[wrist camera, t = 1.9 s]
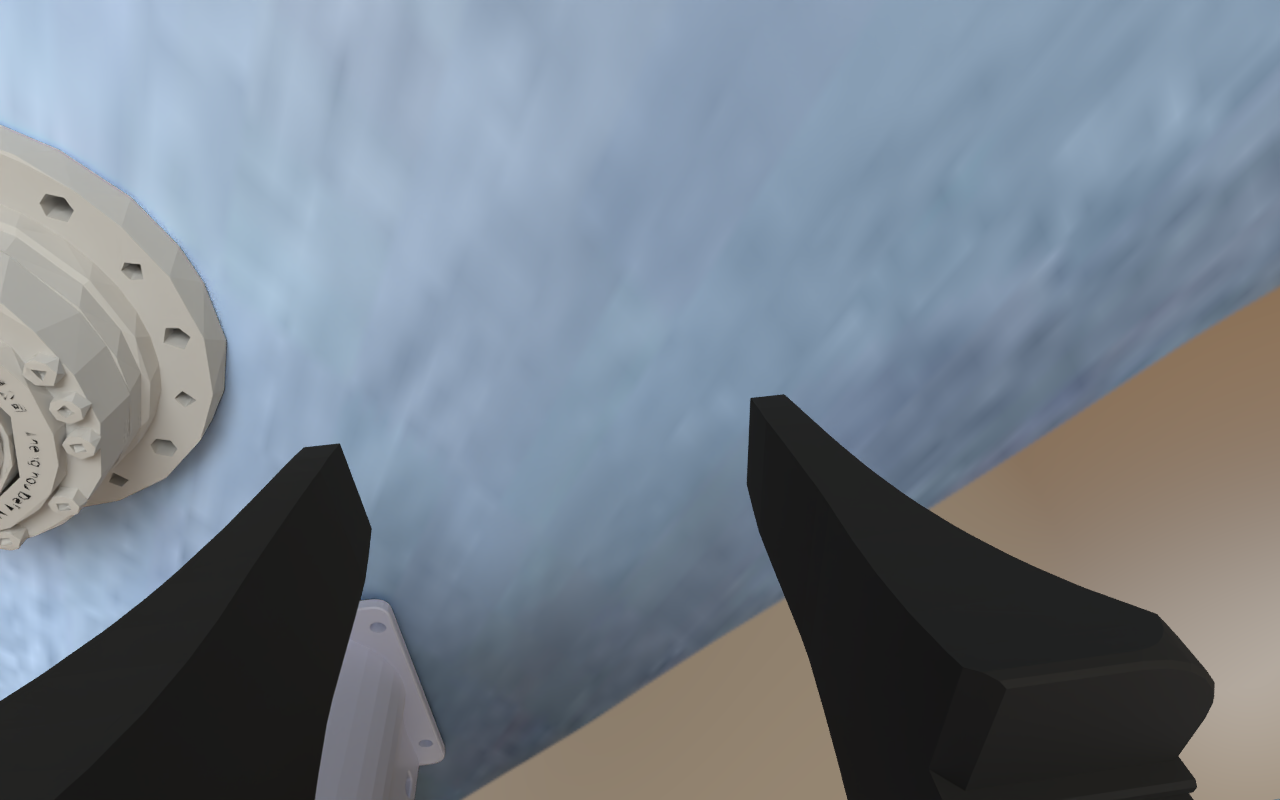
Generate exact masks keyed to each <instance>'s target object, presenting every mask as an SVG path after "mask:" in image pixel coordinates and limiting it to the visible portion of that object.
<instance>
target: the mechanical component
mask: <svg viewBox="0 0 1280 800" xmlns="http://www.w3.org/2000/svg"><path fill="white" fill-rule="evenodd" d="M225 361H226V338H225V336H224V333H223V331H222V328H221V326H220V323H219V321H218V318H217V315H216V313H215V310H214V308H213V305H212V303H211V300H210V298H209V295H208V292H207V290H206V287H205V285H204V282H203V281H202V279H201V278H200V276H199V275H198V273H197V272H196V270H195V269H194V267H193V266H192V265H191V263H190V262H189V260H188V259H187V257H186V256H185V254H184V253H183V251H182V250H181V248H180V247H179V246H178V245H177V244H176V242H175V241H174V240H173V239H172V238H171V237H170V236H169V235H168V234H167V233H166V232H165V231H164V230H163V229H162V228H161V227H160V226H159V225H158V224H157V223H156V222H155V221H154V220H153V219H152V218H151V217H150V216H149V215H148V214H147V213H146V212H145V211H144V210H143V209H142V208H141V207H140V206H139V205H138V204H137V203H136V202H135V201H134V200H133V199H132V198H131V197H130V196H128V195H127V194H125V193H124V192H122V191H121V190H119V189H118V188H116V187H115V186H113V185H112V184H110V183H109V182H107V181H106V180H104V179H103V178H101V177H100V176H98V175H97V174H95V173H94V172H92V171H91V170H89V169H88V168H86V167H85V166H83V165H82V164H80V163H78V162H77V161H75V160H74V159H72V158H71V157H69V156H68V155H66V154H65V153H63V152H62V151H60V150H58V149H56V148H54V147H51V146H49V145H47V144H44V143H42V142H40V141H37V140H35V139H33V138H30V137H28V136H26V135H23V134H21V133H18V132H16V131H14V130H11V129H9V128H7V127H4V126H2V125H0V549H5V550H15V549H19V548H20V546H21V545H22V544H23V543H24V541H25V540H26V539H27V538H30V537H33V536H37V535H39V534H41V533H44V532H46V531H48V530H50V529H53V528H55V527H57V526H60V525H62V524H64V523H65V522H66V521H68V520H69V519H70V518H71V517H73V516H74V515H76V514H78V513H79V512H80V510H81V509H82V508H83V507H87V506H92V505H97V504H103V503H108V502H114V501H119V500H121V499H124V498H126V497H128V496H130V495H132V494H134V493H136V492H138V491H140V490H142V489H144V488H146V487H148V486H150V485H153V484H155V483H157V482H159V481H161V480H163V479H165V478H166V477H167V476H168V475H169V474H170V473H171V472H172V471H173V470H174V469H175V468H176V466H177V465H178V464H179V463H180V462H181V461H182V460H183V459H184V458H185V457H186V455H187V454H188V453H189V452H190V451H191V450H192V449H193V448H194V447H195V446H196V444H197V443H198V442H199V441H200V440H201V438H202V437H203V435H204V433H205V431H206V430H207V428H208V426H209V424H210V423H211V421H212V419H213V416H214V414H215V411H216V409H217V406H218V404H219V401H220V399H221V397H222V394H223V392H224V385H225Z"/></svg>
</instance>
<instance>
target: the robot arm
mask: <svg viewBox="0 0 1280 800" xmlns="http://www.w3.org/2000/svg"><path fill="white" fill-rule="evenodd" d="M747 487H748V491H749V495H750V499H751V503H752V507H753V511H754V515H755V518H756V522H757V526H758V529H759V533H760V536H761V538H762V541H763V543H764V546H765V548H766V551H767V553H768V556H769V558H770V561H771V563H772V566H773V568H774V571H775V573H776V576H777V578H778V581H779V583H780V586H781V588H782V591H783V593H784V596H785V598H786V600H787V602H788V605H789V608H790V610H791V613H792V615H793V617H794V620H795V623H796V625H797V628H798V630H799V633H800V635H801V638H802V641H803V643H804V646H805V649H806V652H807V655H808V657H809V661H810V664H811V667H812V670H813V674H814V677H815V681H816V685H817V688H818V692H819V695H820V698H821V702H822V705H823V709H824V713H825V716H826V720H827V724H828V727H829V731H830V735H831V738H832V742H833V746H834V749H835V753H836V756H837V760H838V764H839V768H840V772H841V776H842V780H843V784H844V788H845V792H846V795H847V799H848V800H1193V799H1192V797H1191V796H1190V794H1189V793H1191V792H1194V790H1195V789H1196V788H1197V785H1196V780H1195V778H1194V777H1193V776H1192V774H1191V773H1190V771H1189V770H1188V769H1187V767H1186V766H1185V765H1184V763H1183V762H1182V761H1181V759H1180V758H1179V757H1178V756H1179V754H1180V753H1181V751H1182V750H1183V748H1184V747H1185V746H1186V744H1187V743H1188V741H1189V740H1190V739H1191V737H1192V736H1193V734H1194V733H1195V732H1196V730H1197V729H1198V727H1199V726H1200V724H1201V723H1202V722H1203V720H1204V719H1205V717H1206V715H1207V713H1208V711H1209V709H1210V707H1211V705H1212V703H1213V699H1214V681H1213V679H1212V678H1211V676H1210V675H1209V674H1208V672H1207V670H1206V669H1205V668H1204V667H1203V666H1202V665H1201V664H1200V662H1199V661H1198V660H1197V659H1196V658H1195V656H1194V655H1193V654H1192V653H1191V652H1190V650H1189V649H1188V648H1187V647H1186V646H1185V644H1184V643H1183V642H1182V641H1181V640H1180V639H1179V637H1178V636H1177V635H1176V634H1175V633H1174V632H1173V631H1172V630H1171V629H1170V627H1169V626H1168V625H1167V624H1166V623H1165V622H1164V621H1163V620H1162V619H1161V618H1160V617H1159V616H1158V615H1157V614H1155V613H1153V612H1150V611H1147V610H1144V609H1141V608H1138V607H1136V606H1133V605H1130V604H1128V603H1125V602H1122V601H1119V600H1116V599H1114V598H1111V597H1108V596H1105V595H1103V594H1100V593H1097V592H1094V591H1091V590H1089V589H1086V588H1084V587H1081V586H1078V585H1076V584H1074V583H1071V582H1069V581H1067V580H1064V579H1062V578H1060V577H1057V576H1055V575H1053V574H1050V573H1048V572H1046V571H1043V570H1041V569H1039V568H1036V567H1034V566H1032V565H1030V564H1028V563H1026V562H1023V561H1021V560H1019V559H1017V558H1015V557H1013V556H1011V555H1009V554H1007V553H1004V552H1003V551H1001V550H999V549H997V548H995V547H993V546H991V545H989V544H987V543H985V542H983V541H981V540H980V539H978V538H975V537H974V536H972V535H970V534H968V533H966V532H965V531H963V530H961V529H959V528H957V527H956V526H954V525H952V524H950V523H949V522H947V521H946V520H944V519H942V518H941V517H939V516H938V515H936V514H934V513H933V512H931V511H930V510H928V509H926V508H925V507H923V506H921V505H920V504H918V503H917V502H915V501H914V500H912V499H911V498H909V497H908V496H906V495H905V494H903V493H902V492H901V491H899V490H898V489H896V488H895V487H894V486H892V485H891V484H890V483H888V482H887V481H885V480H884V479H883V478H881V477H880V476H879V475H877V474H876V473H875V472H873V471H872V470H871V469H869V468H868V467H867V466H866V465H864V464H863V463H862V462H861V461H859V460H858V459H857V458H856V457H855V456H853V455H852V454H851V453H850V452H849V451H847V450H846V449H845V448H844V447H843V446H841V445H840V444H839V443H838V442H837V441H836V440H834V439H833V438H832V437H831V436H830V435H829V434H828V433H826V432H825V431H824V430H823V429H822V428H821V427H820V426H819V425H818V424H816V423H815V422H814V421H813V420H812V419H811V418H810V417H809V416H808V415H807V414H805V413H804V412H803V411H802V410H801V409H800V408H799V407H798V406H797V405H795V404H794V403H793V402H792V401H791V400H790V399H789V398H788V397H786V396H785V395H784V394H783V395H774V396H765V397H756V398H751V399H750V422H749V445H748V468H747ZM371 530H372V528H371V525H370V523H369V520H368V517H367V515H366V512H365V509H364V507H363V504H362V501H361V499H360V496H359V493H358V491H357V488H356V485H355V483H354V480H353V477H352V475H351V472H350V469H349V467H348V464H347V461H346V459H345V456H344V453H343V451H342V448H341V445H340V444H331V445H322V446H313V447H304V448H303V449H302V450H301V451H300V452H299V453H297V454H296V455H295V456H294V457H293V458H292V459H291V460H290V461H289V462H288V463H287V464H286V465H285V466H284V467H283V468H282V469H281V470H280V472H279V473H278V474H277V475H276V476H275V477H274V478H273V479H272V480H271V481H270V482H269V483H268V484H267V485H266V486H265V487H264V488H263V489H262V490H261V491H260V492H259V493H258V494H257V495H256V496H255V497H254V498H253V499H252V500H251V501H250V502H249V503H248V504H247V505H246V506H245V507H244V508H243V509H242V510H241V511H240V512H239V513H238V514H237V515H236V517H235V518H234V519H233V520H232V521H231V522H230V523H229V524H228V525H227V526H226V527H225V528H224V529H223V530H222V531H220V532H219V533H218V534H217V535H216V536H215V537H214V538H213V539H212V540H211V541H210V542H209V543H208V544H206V545H205V546H204V547H203V548H202V549H201V550H200V551H199V552H198V553H197V554H196V555H195V556H194V557H192V558H191V559H190V560H189V561H188V562H187V563H186V564H185V565H184V566H183V567H182V568H181V569H179V570H178V571H177V572H176V573H175V574H174V575H173V576H172V577H171V578H169V579H168V580H167V581H166V582H165V583H164V584H162V585H161V586H160V587H159V588H158V589H156V590H155V591H154V592H153V593H152V594H150V595H149V596H148V597H147V598H146V599H144V600H143V601H142V602H141V603H139V604H138V605H137V606H135V607H134V608H133V609H132V610H130V611H129V612H128V613H127V614H125V615H124V616H123V617H122V618H120V619H119V620H118V621H116V622H115V623H114V624H112V625H111V626H110V627H109V628H107V629H106V630H105V631H103V632H102V633H100V634H99V635H97V636H96V637H95V638H93V639H92V640H90V641H89V642H87V643H86V644H85V645H83V646H82V647H80V648H79V649H77V650H76V651H75V652H73V653H72V654H70V655H69V656H68V657H66V658H65V659H63V660H62V661H60V662H59V663H58V664H56V665H55V666H53V667H52V668H50V669H49V670H48V671H46V672H45V673H43V674H42V675H40V676H39V677H37V678H36V679H34V680H33V681H31V682H29V683H28V684H26V685H25V686H23V687H22V688H20V689H18V690H17V691H15V692H14V693H12V694H11V695H9V696H7V697H6V698H4V699H3V700H1V701H0V800H414V798H415V790H416V783H417V775H418V768H419V766H420V765H427V764H434V763H438V762H440V761H441V760H443V758H444V755H445V746H444V743H443V740H442V738H441V735H440V733H439V730H438V727H437V725H436V722H435V720H434V717H433V714H432V712H431V709H430V707H429V704H428V701H427V699H426V696H425V694H424V691H423V688H422V686H421V683H420V681H419V678H418V675H417V673H416V670H415V668H414V665H413V662H412V660H411V657H410V655H409V652H408V649H407V647H406V644H405V642H404V639H403V636H402V634H401V631H400V629H399V626H398V623H397V621H396V618H395V616H394V613H393V610H392V608H391V606H390V605H389V604H388V603H387V602H385V601H383V600H379V599H370V600H362V601H360V598H361V595H362V591H363V587H364V583H365V578H366V571H367V564H368V557H369V548H370V539H371ZM1275 800H1280V799H1275Z"/></svg>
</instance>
